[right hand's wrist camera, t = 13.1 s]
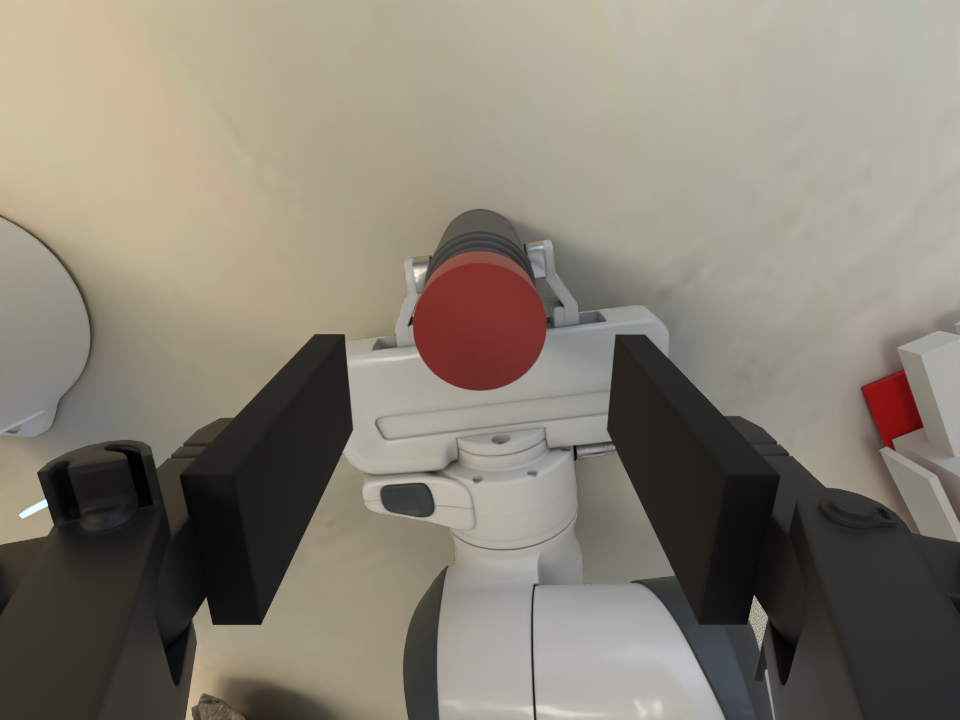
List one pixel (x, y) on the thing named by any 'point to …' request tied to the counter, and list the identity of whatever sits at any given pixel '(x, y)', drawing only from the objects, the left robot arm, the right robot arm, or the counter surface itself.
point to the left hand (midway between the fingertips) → (477, 250)
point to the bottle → (480, 240)
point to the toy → (924, 430)
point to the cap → (479, 322)
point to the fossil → (214, 710)
